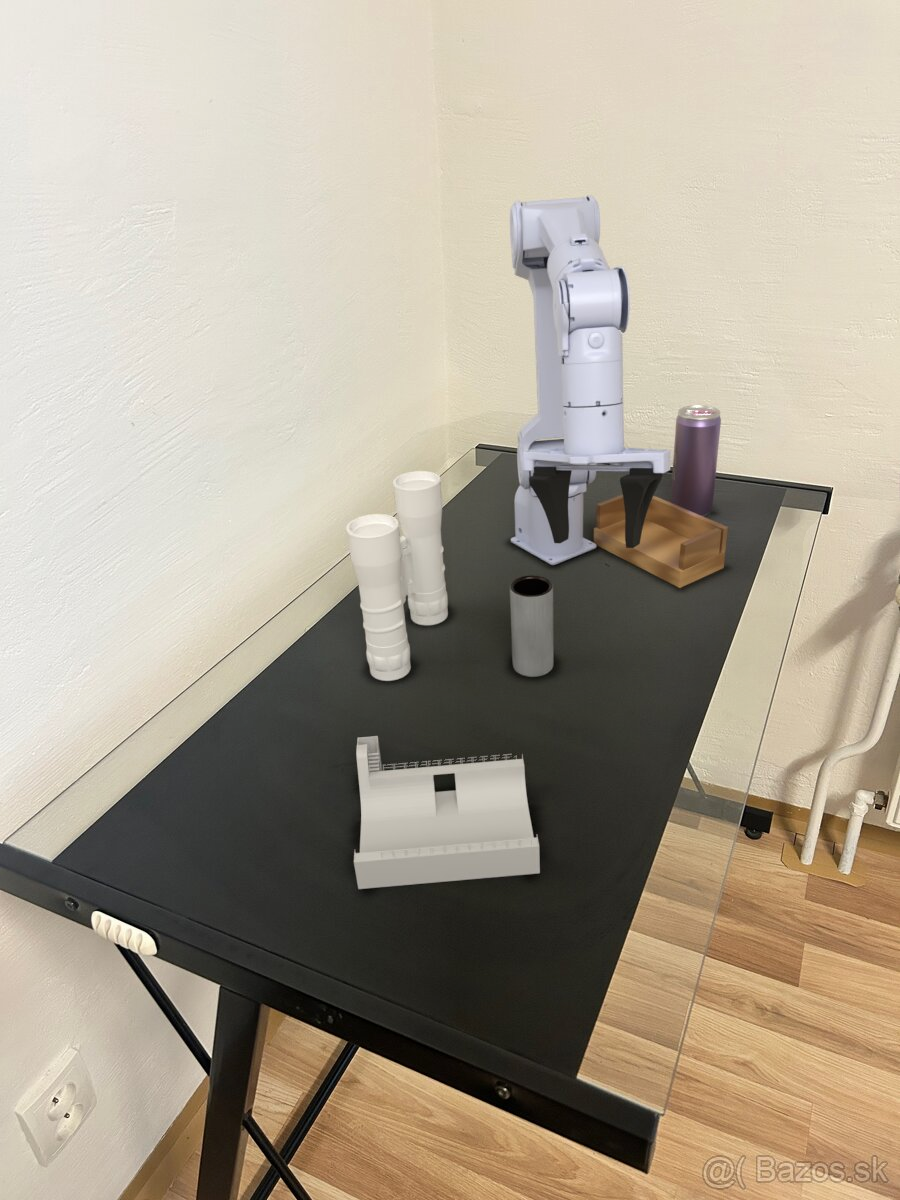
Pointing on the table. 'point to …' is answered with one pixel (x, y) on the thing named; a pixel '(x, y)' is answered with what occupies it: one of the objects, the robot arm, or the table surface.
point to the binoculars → (400, 571)
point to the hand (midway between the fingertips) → (596, 543)
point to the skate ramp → (442, 822)
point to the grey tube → (532, 625)
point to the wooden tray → (664, 540)
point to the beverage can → (695, 458)
